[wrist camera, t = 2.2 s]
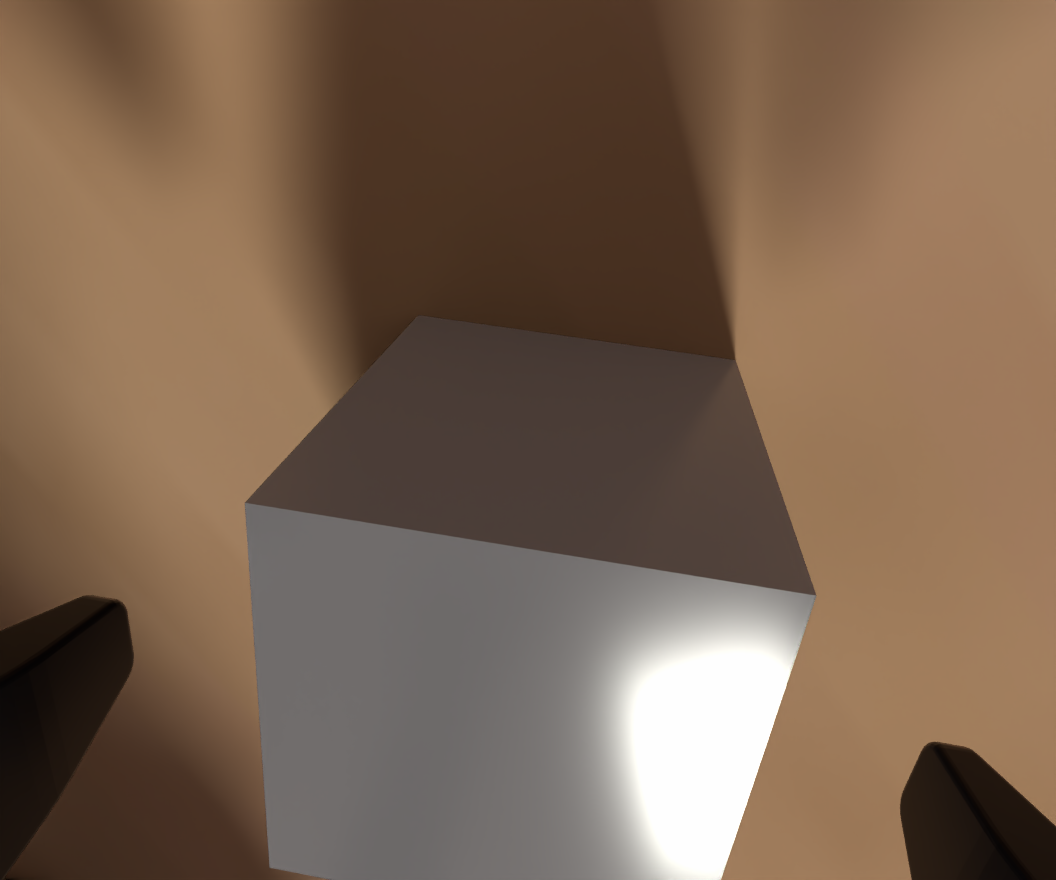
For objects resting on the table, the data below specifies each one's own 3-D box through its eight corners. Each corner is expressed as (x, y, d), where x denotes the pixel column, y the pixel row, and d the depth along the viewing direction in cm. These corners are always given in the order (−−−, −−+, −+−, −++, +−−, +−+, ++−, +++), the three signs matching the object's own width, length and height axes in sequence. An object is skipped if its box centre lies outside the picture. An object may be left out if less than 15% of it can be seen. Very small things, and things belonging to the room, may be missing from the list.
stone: (673, 615, 14) (695, 952, 9) (408, 571, 14) (269, 867, 9) (734, 359, 12) (816, 596, 6) (419, 314, 12) (244, 503, 7)
